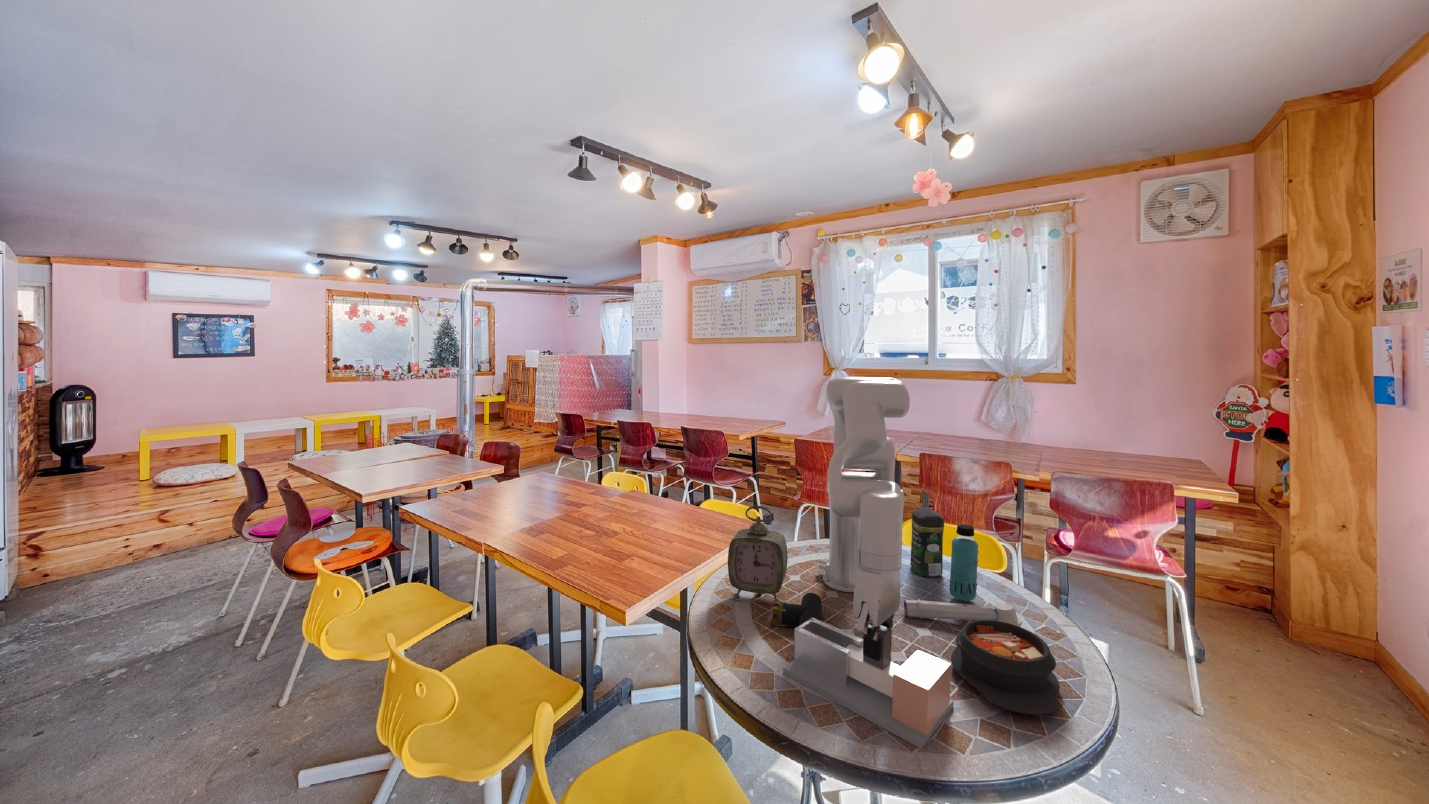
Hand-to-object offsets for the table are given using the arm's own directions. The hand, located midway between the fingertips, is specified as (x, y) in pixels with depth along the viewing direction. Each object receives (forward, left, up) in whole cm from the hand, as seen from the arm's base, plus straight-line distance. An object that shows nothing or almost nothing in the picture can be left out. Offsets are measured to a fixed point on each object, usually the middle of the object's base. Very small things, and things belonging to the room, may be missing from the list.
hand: (877, 651), depth 94 cm
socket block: (+8, 0, -7) cm, 11 cm away
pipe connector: (-25, +10, -9) cm, 29 cm away
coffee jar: (-15, +61, -9) cm, 64 cm away
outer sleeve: (-11, 0, -7) cm, 13 cm away
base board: (-2, 0, -9) cm, 9 cm away
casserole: (+16, +22, -9) cm, 28 cm away
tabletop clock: (-40, +14, -9) cm, 44 cm away
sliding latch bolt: (+2, 0, -6) cm, 6 cm away
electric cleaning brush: (+2, +38, -9) cm, 39 cm away
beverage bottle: (-1, +50, -9) cm, 51 cm away
